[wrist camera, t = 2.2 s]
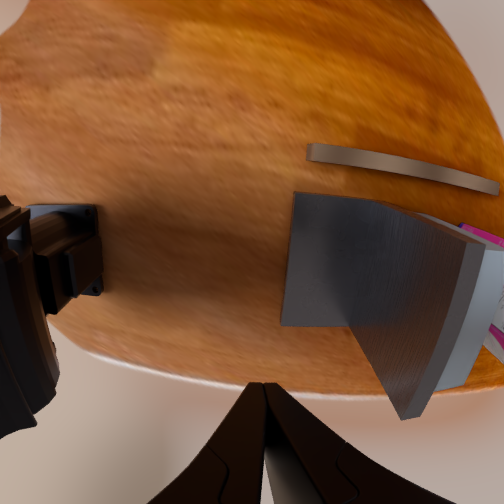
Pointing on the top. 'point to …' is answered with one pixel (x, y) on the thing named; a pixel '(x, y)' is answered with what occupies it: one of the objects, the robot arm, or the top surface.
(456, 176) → the rail
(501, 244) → the supplement box
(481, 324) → the book
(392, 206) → the bookend
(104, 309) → the top surface
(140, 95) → the top surface
